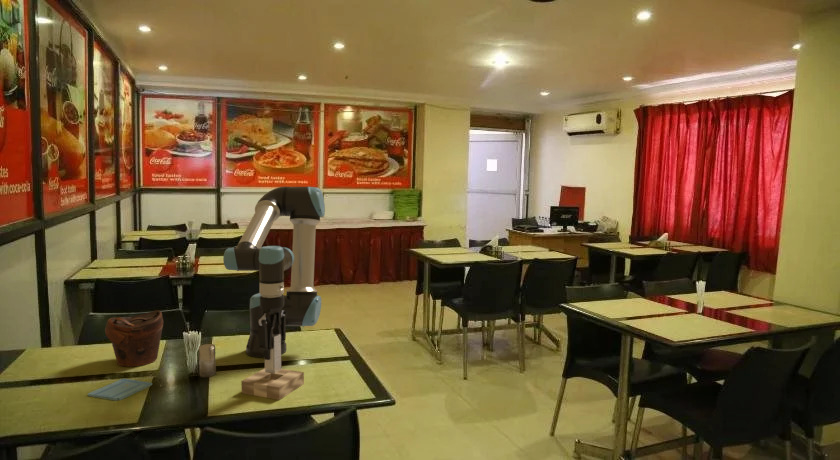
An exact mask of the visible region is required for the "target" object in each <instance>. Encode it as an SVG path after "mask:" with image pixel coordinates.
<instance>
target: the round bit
mask: <svg viewBox="0 0 840 460" xmlns="http://www.w3.org/2000/svg"><path fill="white" fill-rule="evenodd" d="M198 363H199V377H201V378H211V377H214V376H215V375H217V374H216V373H217V367H216V344H213V343H205V344H204V343H203V344H201V345H200V346H198Z"/></svg>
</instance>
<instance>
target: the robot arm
mask: <svg viewBox="0 0 840 460" xmlns="http://www.w3.org/2000/svg"><path fill="white" fill-rule="evenodd" d="M325 204H326V203H325V199H324V195H323V191H322V190H321V189H320V188H318V187H315V186H278V187H275V188H274V189H271V190H269V191H268V192H266V193H265V194H264V195H263V196H262V197H260V199H258V201H257V203H256V204H255V207H254V214H253V216H252V218H251V219H250V222H249V223H248V226H247V227H246V229H245V231H244V232H243V235H242V236H241V238H240V240H239V242H238V244H237V245H236V247H234V246H233V247H228V248H226V249H225V251H224V252H223V253H224V254H223V259H222V260H223V266H224V267H225V269H226V270H228V271H237V272H239V271H241V272H247V271H248V272H250V271H251V272H253V271H254V272H259V292H258V293H255V294H253V295H252V296H251V297H250V298H249V307H248V308H249V321H250V322H249V323H250V333H249V337H248V340H247V342H246V347H245V351H246V352H245V354H246V355H247V356H249V357H253V358H263V359H264V368H265V369H271V370H272V369H273V349H271V346H272V335H273V333H276V334H281V355H283V354H284V353H285V352H287V342H286V337H287V336H286V335H287V332H286V331H287V327H303V328H305V327H312V326H315V325H316V324H317V323H318V321H319V319H320V315H321V309H322V297H321V296H320V295H318V290H317V289H316V288H315V286H314V282H315V281H314V279H315V256H316V253H315V252H316V230H317V229H316V228H317V225H318V224H319V223H320V222H321V218H323V217H325V212H326V207H325V206H326V205H325ZM280 217H289V222H291V223H292V225H293V229H292V250H291V249H290V248H288V247H284V246H283V247H282V246H280V245H267V246H263V245H264V242H265V241H266V238H267V236H268V234H269V233H270V231H271V228H272V226H273V224H274V222H276V221H277V220H278V219H279V218H280ZM288 269H291V275H290V276H291V277H290V278H291V279H290V287H289V288H288V289H287V290H286V295H285V294H284V293H285V271H287V270H288Z"/></svg>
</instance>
